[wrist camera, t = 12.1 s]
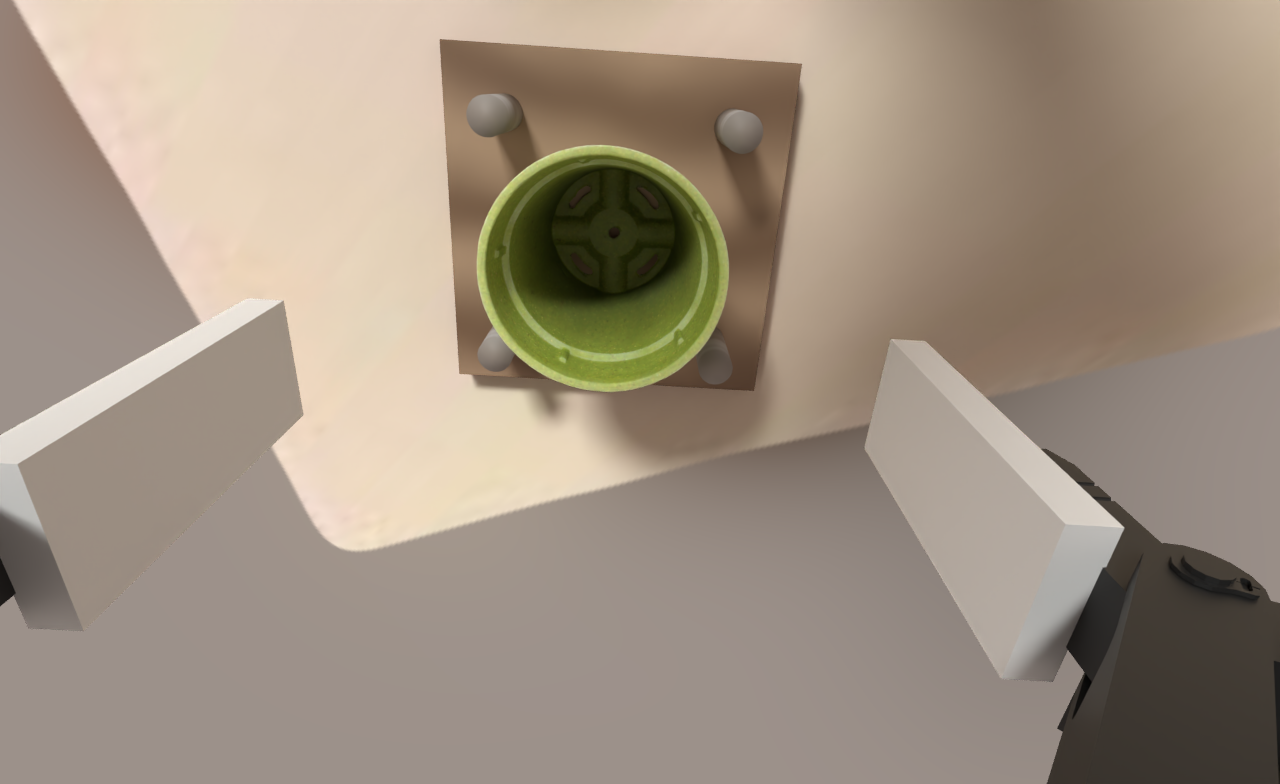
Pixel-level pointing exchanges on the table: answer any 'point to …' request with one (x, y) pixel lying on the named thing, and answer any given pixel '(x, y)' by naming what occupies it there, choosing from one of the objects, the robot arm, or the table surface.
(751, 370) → the stand
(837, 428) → the table surface
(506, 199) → the plant pot
